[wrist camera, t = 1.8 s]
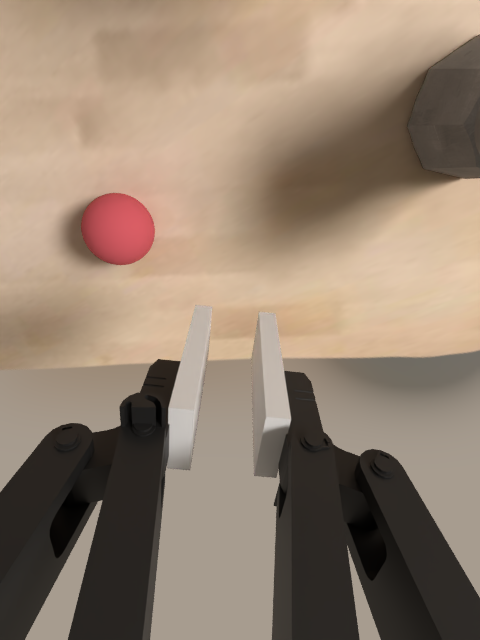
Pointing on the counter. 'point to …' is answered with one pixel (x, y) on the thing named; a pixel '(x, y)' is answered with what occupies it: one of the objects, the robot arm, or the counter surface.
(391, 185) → the counter surface
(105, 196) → the ball
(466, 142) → the coffeepot
